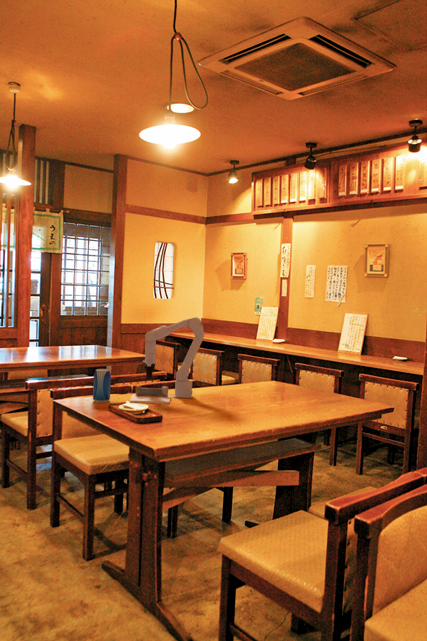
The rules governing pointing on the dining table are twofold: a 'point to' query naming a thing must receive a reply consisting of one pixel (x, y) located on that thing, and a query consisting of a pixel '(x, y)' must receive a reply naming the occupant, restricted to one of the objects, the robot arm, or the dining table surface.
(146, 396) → the board
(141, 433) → the dining table surface
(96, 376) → the beer can
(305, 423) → the dining table surface
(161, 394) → the lever
